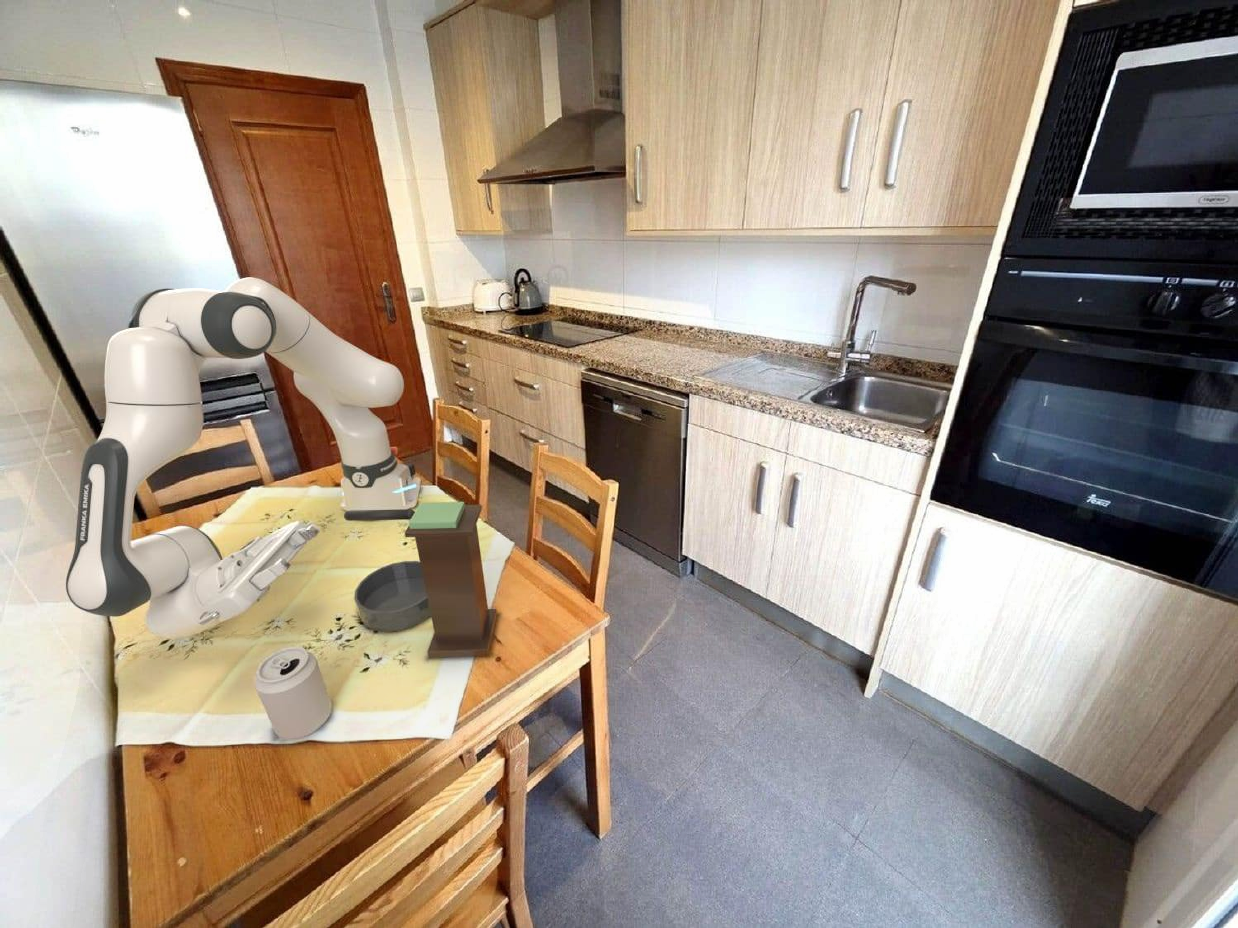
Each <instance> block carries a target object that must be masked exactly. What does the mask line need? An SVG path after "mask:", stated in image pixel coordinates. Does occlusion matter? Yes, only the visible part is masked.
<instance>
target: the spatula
mask: <svg viewBox="0 0 1238 928" xmlns="http://www.w3.org/2000/svg"><path fill="white" fill-rule="evenodd" d="M465 505H466V504H465V501H437V502H436V501H431V502H430V501H429V502H427V501H426V502H419V504H418V506H417V507H416V509H415V510H413V509H412V508H409V509H399V510H349V511H345V512H344V514H343V519H344V520H346V521H348V522H350V521H351V522H352V521H353V522H355V521H357V522H358V521H364V520H369V521H403V520H407V521H408V526H409V527H410V529H435V528H457V525H458V523H459V521H460V518H461V516H462V513H463V511H464V509H465Z"/></svg>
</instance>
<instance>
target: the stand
mask: <svg viewBox="0 0 1238 928" xmlns="http://www.w3.org/2000/svg"><path fill="white" fill-rule="evenodd" d="M464 505H465V509H464V511H463V513H462V516H461V518H460V521H459V523H458V525H457V528H435V529H410V527H409V525H408V527H407V528H406V530H405V531H404V537H405V538H414V539H415V544H416V549H417V554H418V558H419V562H420V564H421V569H422V574H423V579H424V584H425V589H426V594H427V598H428V603H429V608H430V613H431V616H430V618H431V622H432V628H433V635H432V637H431V640H430V644H429V646H428V648H427V657H428V659H447V658H449V659H450V658H475V657H477V658H478V657H480V658H481V657H489V654H490V653H489V652H490V648H491V643H492V640H493V636H494V631H495V626H496V622H497V618H498V611H497V608H489V605H488V604H489V603H488V597H487V590H486V583H485V576H484V568H483V561H482V555H481V547H480V539H479V533H478V525H477V523H478V521H479V518H480V516H481V513H482V510H483V505H482V504H464Z"/></svg>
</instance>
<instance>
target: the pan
mask: <svg viewBox="0 0 1238 928" xmlns="http://www.w3.org/2000/svg"><path fill="white" fill-rule="evenodd" d="M353 600H354V603H355V607H356V610H357V613H358V617H359V619H360V621H361V623H362V624H363V625H364V626H365V627H367V628H368V629H370V630H373V631H377V632H383V633H390V632H399V631H403V630H407V629H410V628H413V627H414V626H417V625H419V624H421V623H422V622H425V621H426V620H427V619H429V618H431V613H430V608H429V603H428V598H427V594H426V589H425V584H424V579H423V574H422V569H421V564H420V560H404V561H399V562H394V563H393V562H392V563H390V564H387V565H385V566H382V567H379V568H378V569H376V570H375V571H372V572H370V573H369V574H367V575H366V577H365V578H363V579H362V580H360V582H359V583H358V585H357V587H356V589H355V590H354V596H353Z"/></svg>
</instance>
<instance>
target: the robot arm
mask: <svg viewBox="0 0 1238 928" xmlns="http://www.w3.org/2000/svg"><path fill="white" fill-rule="evenodd" d="M132 306H133V307H132V309H131V312H130V320H129V322H128V324H127V328H126V329H124V330H123V329H122V330H121V331H118V332H116V333H115V334H114V335H112V336H111V338H110V339H109V341H108V344H107V348H106V349H107V350H106V355H105V365H104V394H105V396H104V397H105V405H106V406H105V407H106V409H105V410H106V411H105V418H104V423H103V426H102V429H101V431H100V434H99V436H98V438H97V439H96V441H95V442H93V444H92V445H90V446H89V447H88V449H87V450H86V452H85V455H84V457H83V460H82V467H81V472H80V474H81V475H80V480H79V481H80V482H79V494H78V503H77V504H78V506H77V515H76V518H77V519H76V530H75V543H74V551H73V555H72V558H71V562H70V564H69V568H68V571H67V574H66V579H65V590H66V594H67V597H68V599H69V600H70V602H71V604H73V606H75V607H76V608H78V609H79V610H82V611H84V612H86V613H89V614H92V615H97V616H101V617H102V616H103V617H112V618H113V617H114V618H115V617H123V616H124V615H127V614H128V613H131V612H132V611H134V610H136V609H138V608H139V607H141V606H143V605H145V604H147V603H148V602H149V605H148V608H147V611H146V612H145V616H144V623H145V626H146V628H147V629H148V630H149V632H151V633H152V634H153V635H155V636H157V637H159V638H163V639H167V640H179V639H180V640H181V639H185V638H188V637H192V636H196V635H198V634H200V633H203V632H205V631H207V630H209V629H211V628H214V627H215V626H217V625H219V624H221V623H223V622H225V621H228V620H230V619H233V618H235V617H237V616H240V615H241V614H243V613H244V612H246V611H247V610H249V609H250V608H251V607H253V605H256V604H257V603H259V602H260V601H262V600H264V598H265V597H266V596H267V594H268V593H269V590H270V587H271V585H272V584H273V583H274V581H275V580H276V579H277V578H279V577H280V576H281V575H284V574H286V572H287V571H288V570H289V568H290V567H291V564H290V563H291V562H292V560H294V558H296V556H297V555H298V554H299V553H300V551H302V549H303V548H304V547H305V546H306V544H307V543H308V542H309V541H311V540H313V539H314V538H316V537H317V536H319V534H320V532H321V529H320V528H319V527H318V526H317V525H315V524H310V525H308V524H306V523H305V522H304V521H303V520H296V521H293V522H291V523H288V524H286V525H284V526H282V527H280V528H278V529H277V530H276V529H275V530H274V531H272V532H270V533H268V534H266V536H264V537H263V538H262V537H261V536H257V537H255V538H253V539H252V540H251V541H249V542H248V543H246V544H245V545H244V546H242V547H241V548H240V549H238V550H237V551H235V552H233V553H231V554H229V555H227V556H225V557H224V558H223V556H222V553H221V551H220V549H219V547H218V546H217V545H216V543H215V542H214V540H213V539H212V538H211V537H210V536H209V535H208V534H206V533H205V532H204V531H203V530H200V529H199V528H196V527H194V526H190V525H184V524H180V525H175V526H173V527H169V528H166V529H162V530H160V531H156V532H153V533H150V534H147V535H146V536H142V537H139V538H136V539H133V540H132V528H133V517H134V504H135V499H136V498H135V497H136V494H137V492H138V490H139V488H140V487H141V485H142V484H143V483H144V482H145V480H147V479H148V478H149V477H150V476H152V474H154V473H155V472H156V471H158V470H159V469H161V468H162V467H164V466H165V465H167V464H169V463H171V462H172V461H174V460H176V459H177V458H179V457H181V456H183V455H184V454H186V453H187V452H188V451H189V450H191V449H192V448H193V447H194V446H195V445H196V444H197V443H198V441H200V439H201V436H202V433H203V428H204V406H203V395H202V388H201V382H200V372H201V369H202V366H203V365H204V363H205V362H206V360H207V359H211V358H213V359H232V360H245V359H251V358H254V357H258V356H260V355H262V354H263V353H267V354H269V355H270V356H271V357H272V358H274V359H275V360H276V361H278V362H279V363H281V364H282V365H283V366H285V367H287V368H288V369H289V370H291V371H292V372H293V382H294V386H295V387H296V389H297V390H298V392H299V393H300V394H301V395H303V396H304V397H305V398H307V399H308V400H309V401H310V402H312V404H313V405H314V406H315V407H316V408H317V409H318V410H319V412H320V413H321V414H322V416H323V417H324V419H325V420H326V422H327V423H328V425H329V427H330V428H331V431H332V433H333V435H334V437H335V441H336V444H337V447H338V450H339V454H340V457H341V460H340V469H341V471H342V474H343V477H342V478H341V480H340V485H341V491H342V493H341V494H342V497H343V501H342V502H341V503H340V505H339V506H340V509H341V510H343V511H345V512H346V511H349V510H399V509H412V508H415V507H416V506H417V504H418V498H419V495H420V489H421V485H422V479H421V478H420V477H417V476H415V475H416V468H415V467H416V466H415V464H414V463H409V462H400V461H397V457H396V456H395V455H398V450H399V449H398V447H397V446H391V445H390V440H389V435H388V431H387V430H388V429H387V427H386V425H385V423H384V421H383V420H381V418H380V417H378V416H377V415H375V414H374V413H373V412H372V411H371V410H370V409H375V408H385V407H391V406H394V405H396V404H397V403H398V402H399V401H400V399H401V398H402V395H403V393H404V389H405V384H404V383H405V382H404V378H403V375H402V373H401V371H400V370H399V368H398V367H397V366H395V365H394V364H391V363H389V362H387V361H384V360H382V359H379V358H377V357H375V356H373V355H371V354H369V353H367V352H365V351H364V350H363V349H361V348H359V347H357V346H355V345H354V344H352V343H351V342H348V341H346V340H345V339H343V338H342V337H340V336H338V335H337V334H335V333H334V332H333V331H331V330H330V329H329V328H328V327H326V326H325V325H324V324H323V323H322V322H320V321H319V320H318V319H317V318H316V317H315V316H313V315H312V313H310V312H309V311H308V310H307V309H306V308H304V307H303V306H302V305H301V304H300V303H298V302H297V301H296V300H295V299H293V298H292V297H290V296H289V295H288V294H286V293H285V292H283V290H281V289H279V288H277V287H276V286H275V285H273V284H271V283H269V282H267V281H266V280H263V279H261V278H258V277H243V278H240V279H237V280H235V281H234V282H232V283H231V284H230V285H229V286H228V287H227V288H226V289H225V290H224V291H223V290H217V289H210V288H209V289H208V288H195V287H194V288H178V289H177V288H176V289H175V288H159V289H155V290H151V291H148V292H145V293H144V294H142V295H141V296H140V297H139V298H137V299H136V301H135V303H134V305H132ZM363 521H364V522H365V521H367V522H368V521H370V520H363Z"/></svg>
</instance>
